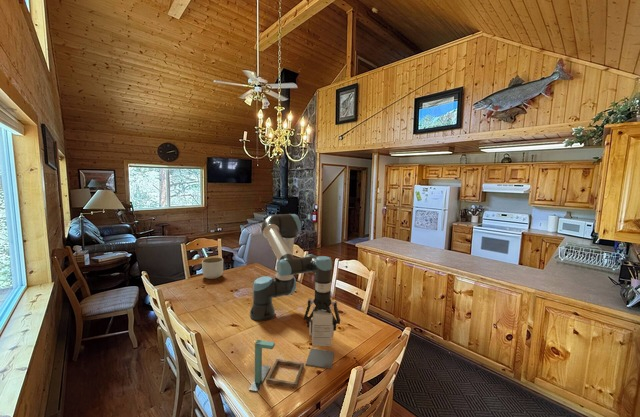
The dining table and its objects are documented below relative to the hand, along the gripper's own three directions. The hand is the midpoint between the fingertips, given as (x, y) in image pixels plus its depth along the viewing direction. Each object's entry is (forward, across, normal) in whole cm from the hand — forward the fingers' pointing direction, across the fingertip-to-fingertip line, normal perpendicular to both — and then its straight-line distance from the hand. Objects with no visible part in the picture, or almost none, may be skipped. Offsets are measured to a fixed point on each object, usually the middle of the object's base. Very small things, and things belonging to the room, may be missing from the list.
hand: (321, 335), depth 126 cm
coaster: (+12, 0, 0) cm, 12 cm away
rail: (+12, -23, -18) cm, 32 cm away
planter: (+12, -109, +84) cm, 138 cm away
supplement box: (+3, 0, 0) cm, 3 cm away
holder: (+12, -13, -14) cm, 23 cm away
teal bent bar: (+11, -20, -20) cm, 31 cm away
